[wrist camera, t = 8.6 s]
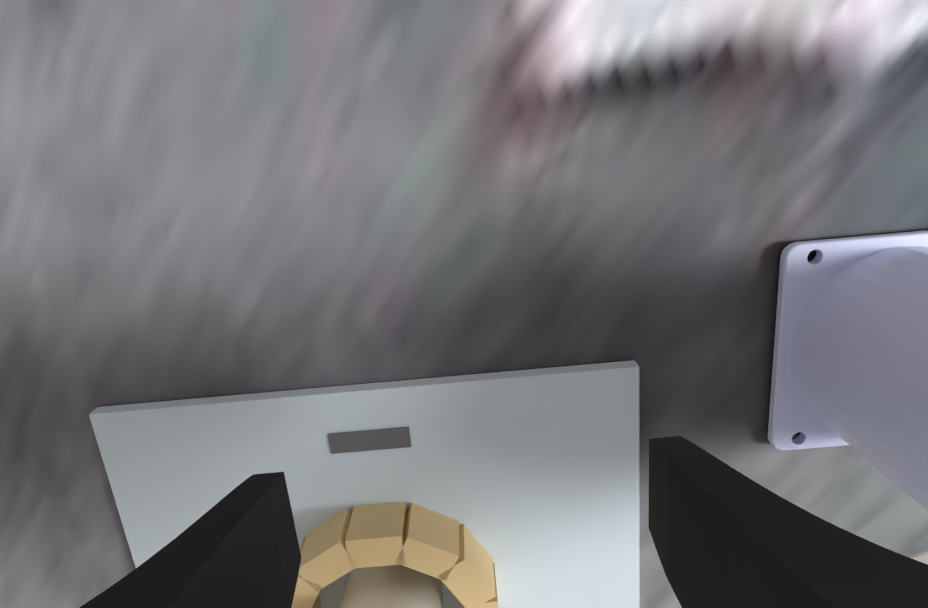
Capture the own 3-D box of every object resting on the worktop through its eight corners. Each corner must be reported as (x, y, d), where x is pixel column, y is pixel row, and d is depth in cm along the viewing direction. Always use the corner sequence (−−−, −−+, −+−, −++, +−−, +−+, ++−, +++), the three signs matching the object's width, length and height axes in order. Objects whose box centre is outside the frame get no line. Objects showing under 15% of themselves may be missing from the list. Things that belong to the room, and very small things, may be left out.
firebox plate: (634, 360, 22) (657, 391, 20) (635, 722, 28) (653, 782, 25) (97, 406, 23) (54, 443, 20) (202, 756, 28) (178, 819, 25)
